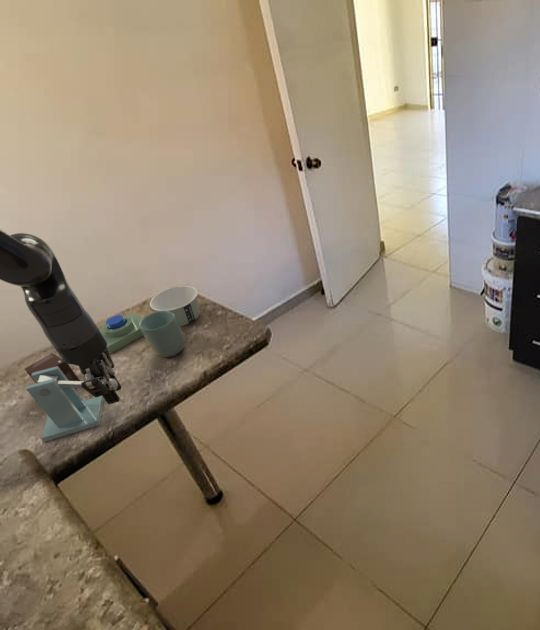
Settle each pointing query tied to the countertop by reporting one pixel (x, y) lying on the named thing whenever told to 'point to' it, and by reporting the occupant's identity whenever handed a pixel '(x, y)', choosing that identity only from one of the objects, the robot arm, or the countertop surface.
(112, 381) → the flush lever
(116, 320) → the flush button
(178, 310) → the food container
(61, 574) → the countertop surface
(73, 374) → the box
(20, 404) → the countertop surface
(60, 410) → the lever bracket
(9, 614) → the countertop surface
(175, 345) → the cup
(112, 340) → the button block
